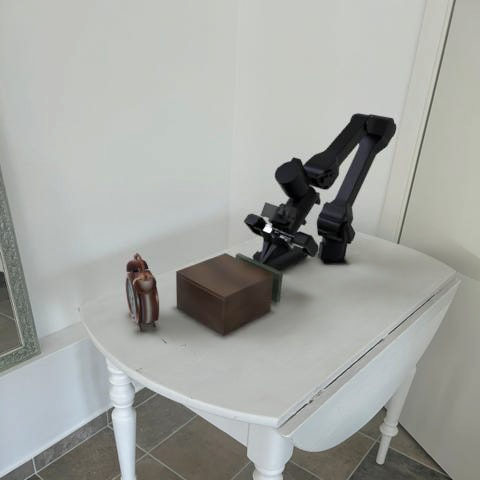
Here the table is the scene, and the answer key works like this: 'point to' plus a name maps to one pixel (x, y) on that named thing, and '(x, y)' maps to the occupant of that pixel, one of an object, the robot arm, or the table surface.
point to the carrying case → (284, 258)
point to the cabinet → (224, 293)
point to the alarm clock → (141, 292)
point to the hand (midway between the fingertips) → (260, 265)
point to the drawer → (277, 274)
